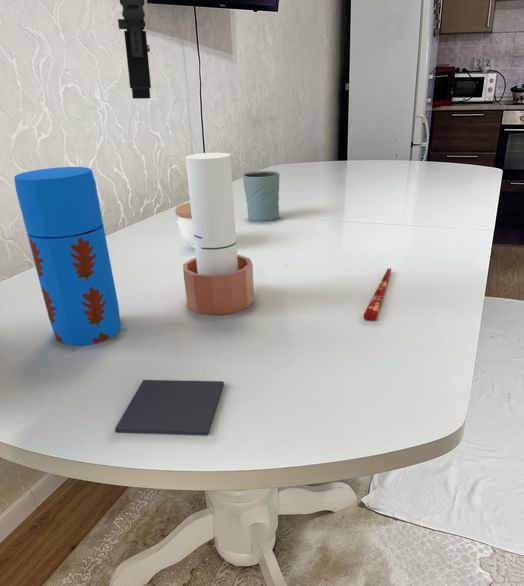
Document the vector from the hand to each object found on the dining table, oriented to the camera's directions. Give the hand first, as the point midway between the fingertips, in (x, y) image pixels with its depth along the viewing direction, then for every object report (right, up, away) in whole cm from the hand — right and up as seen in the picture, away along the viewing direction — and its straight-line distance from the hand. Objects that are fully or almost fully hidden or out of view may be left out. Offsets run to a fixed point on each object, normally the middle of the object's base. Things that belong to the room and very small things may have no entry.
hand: (141, 93), depth 76 cm
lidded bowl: (+4, -12, +52) cm, 53 cm away
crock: (+10, -28, +19) cm, 36 cm away
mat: (+6, -44, -10) cm, 46 cm away
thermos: (-11, -34, +11) cm, 37 cm away
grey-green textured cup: (+18, 0, +73) cm, 75 cm away
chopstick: (+39, -27, +19) cm, 51 cm away
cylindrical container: (+10, -28, +19) cm, 36 cm away
